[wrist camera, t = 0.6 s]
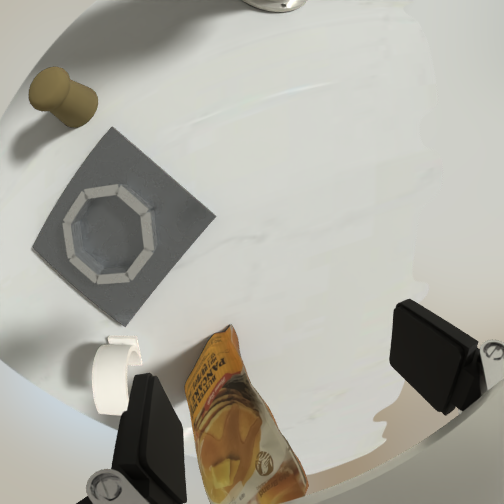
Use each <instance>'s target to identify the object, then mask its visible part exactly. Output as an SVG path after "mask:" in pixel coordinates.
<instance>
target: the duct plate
mask: <svg viewBox="0 0 504 504" xmlns="http://www.w3.org/2000/svg"><path fill="white" fill-rule="evenodd" d="M215 217H216V216H215V214H213V213H212V212H211V211H210V210H209V209H208V208H206V207H205V206H204V205H203V204H202V203H201V202H200V201H198V200H197V199H196V198H195V197H194V196H193V195H191V194H190V193H189V192H188V191H187V190H186V189H185V188H183V187H182V186H181V185H180V184H179V183H178V182H176V181H175V180H174V179H173V178H172V177H171V176H170V175H168V174H167V173H166V172H165V171H164V170H163V169H161V168H160V167H159V166H158V165H157V164H156V163H155V162H153V161H152V160H151V159H150V158H149V157H148V156H146V155H145V154H144V153H143V152H142V151H141V150H139V149H138V148H137V147H136V146H135V145H134V144H133V143H131V142H130V141H129V140H128V139H127V138H126V137H124V136H123V135H122V134H121V133H120V132H119V131H117V130H116V129H115V128H114V127H111V128H110V129H109V130H108V132H107V133H106V134H105V135H104V137H103V138H102V139H101V140H100V142H99V143H98V144H97V145H96V147H95V148H94V149H93V151H92V152H91V153H90V155H89V156H88V157H87V159H86V160H85V161H84V163H83V164H82V165H81V167H80V168H79V170H78V171H77V173H76V174H75V175H74V177H73V178H72V180H71V181H70V183H69V184H68V186H67V187H66V189H65V191H64V192H63V194H62V195H61V197H60V198H59V200H58V202H57V203H56V205H55V207H54V208H53V210H52V212H51V213H50V215H49V217H48V219H47V220H46V222H45V224H44V226H43V228H42V230H41V231H40V233H39V235H38V237H37V239H36V241H35V243H34V245H33V248H34V249H35V250H36V251H37V252H38V253H39V254H40V255H41V256H42V257H43V258H44V259H45V260H46V261H47V262H48V263H49V264H50V265H51V266H52V267H54V268H55V269H56V270H57V271H58V272H59V273H60V274H61V275H62V276H63V277H64V278H65V279H67V280H68V281H69V282H70V283H71V284H72V285H73V286H75V287H76V288H77V289H78V290H79V291H80V292H81V293H83V294H84V295H85V296H86V297H87V298H89V299H90V300H91V301H92V302H94V303H95V304H96V305H97V306H98V307H100V308H101V309H102V310H103V311H105V312H106V313H107V314H109V315H110V316H111V317H113V318H114V319H115V320H116V321H118V322H119V323H120V324H122V325H123V326H125V327H126V326H127V324H128V323H129V322H130V320H131V319H132V318H133V316H134V315H135V314H136V313H137V311H138V310H139V309H140V307H141V306H142V305H143V304H144V302H145V301H146V300H147V299H148V297H149V296H150V295H151V294H152V292H153V291H154V290H155V289H156V287H157V286H158V285H159V284H160V282H161V281H162V280H163V279H164V277H165V276H166V275H167V274H168V273H169V271H170V270H171V269H172V268H173V266H174V265H175V264H176V263H177V262H178V260H179V259H180V258H181V257H182V256H183V254H184V253H185V252H186V251H187V250H188V249H189V247H190V246H191V245H192V244H193V243H194V241H195V240H196V239H197V238H198V237H199V236H200V234H201V233H202V232H203V231H204V230H205V229H206V228H207V226H208V225H209V224H210V223H211V222H212V221H213V220H214V218H215Z"/></svg>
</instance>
